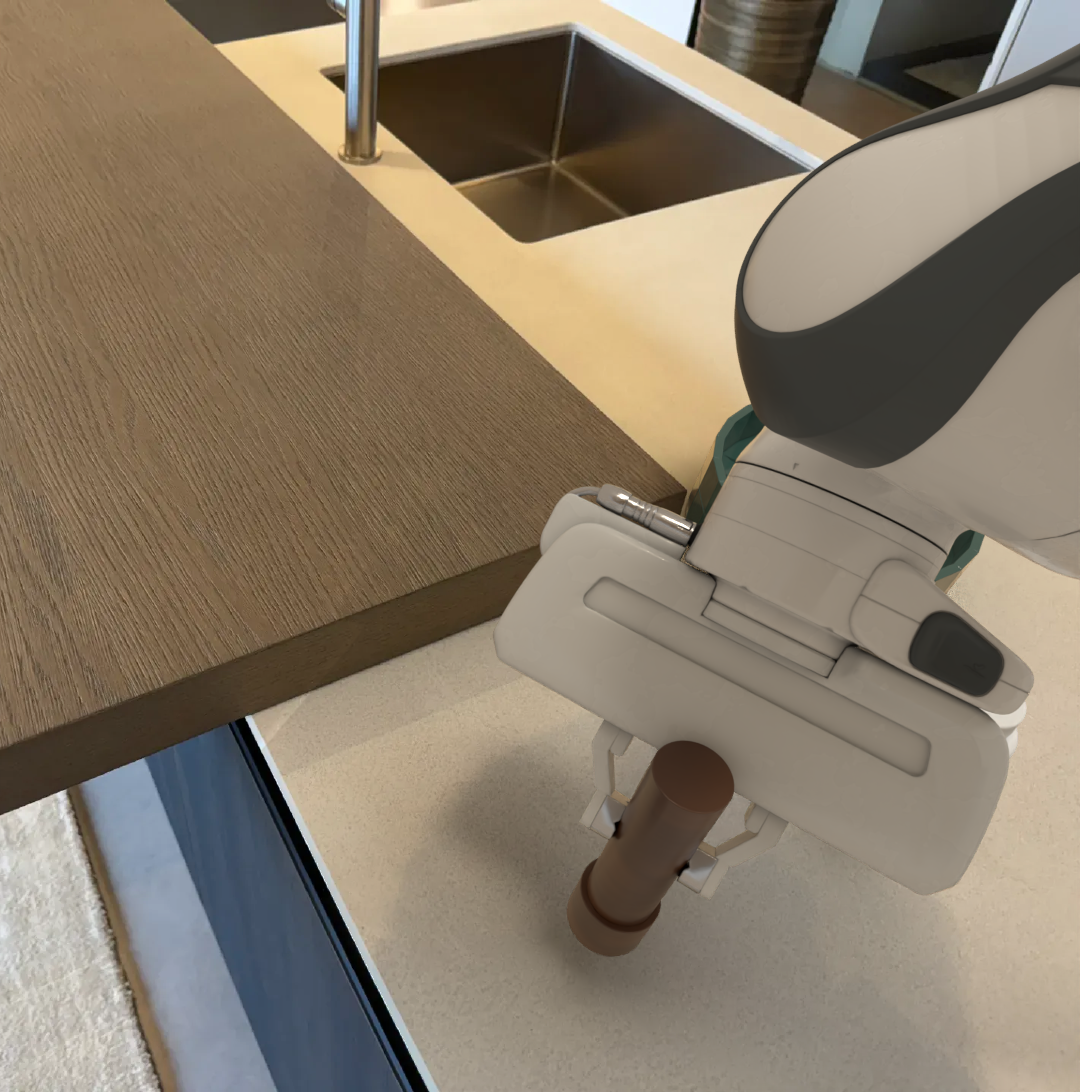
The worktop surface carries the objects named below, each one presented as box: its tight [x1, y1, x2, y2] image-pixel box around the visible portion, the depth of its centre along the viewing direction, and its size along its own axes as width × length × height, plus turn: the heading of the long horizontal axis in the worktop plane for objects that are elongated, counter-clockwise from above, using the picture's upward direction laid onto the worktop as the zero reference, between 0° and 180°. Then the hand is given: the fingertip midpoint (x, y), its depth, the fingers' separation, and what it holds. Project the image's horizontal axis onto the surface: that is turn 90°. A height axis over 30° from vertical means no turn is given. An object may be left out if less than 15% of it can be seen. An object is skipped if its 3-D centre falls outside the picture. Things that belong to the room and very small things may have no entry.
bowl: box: [685, 403, 986, 595], centre depth 69 cm, size 17×17×6 cm
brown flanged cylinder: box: [566, 740, 735, 958], centre depth 45 cm, size 4×4×14 cm
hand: (644, 858), depth 44 cm, fingers closed on brown flanged cylinder, 3 cm apart
